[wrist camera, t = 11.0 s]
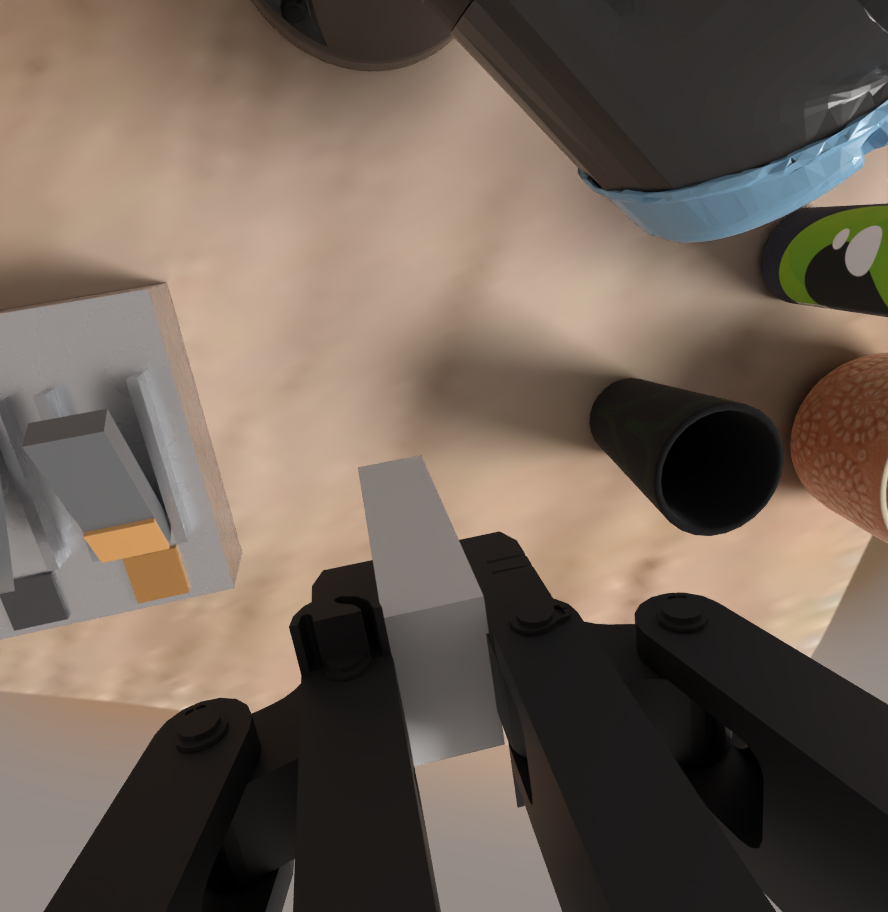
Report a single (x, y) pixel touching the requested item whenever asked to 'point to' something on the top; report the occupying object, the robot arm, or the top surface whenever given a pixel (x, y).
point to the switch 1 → (4, 551)
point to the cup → (690, 452)
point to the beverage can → (831, 258)
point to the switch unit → (147, 435)
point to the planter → (847, 442)
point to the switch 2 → (99, 484)
